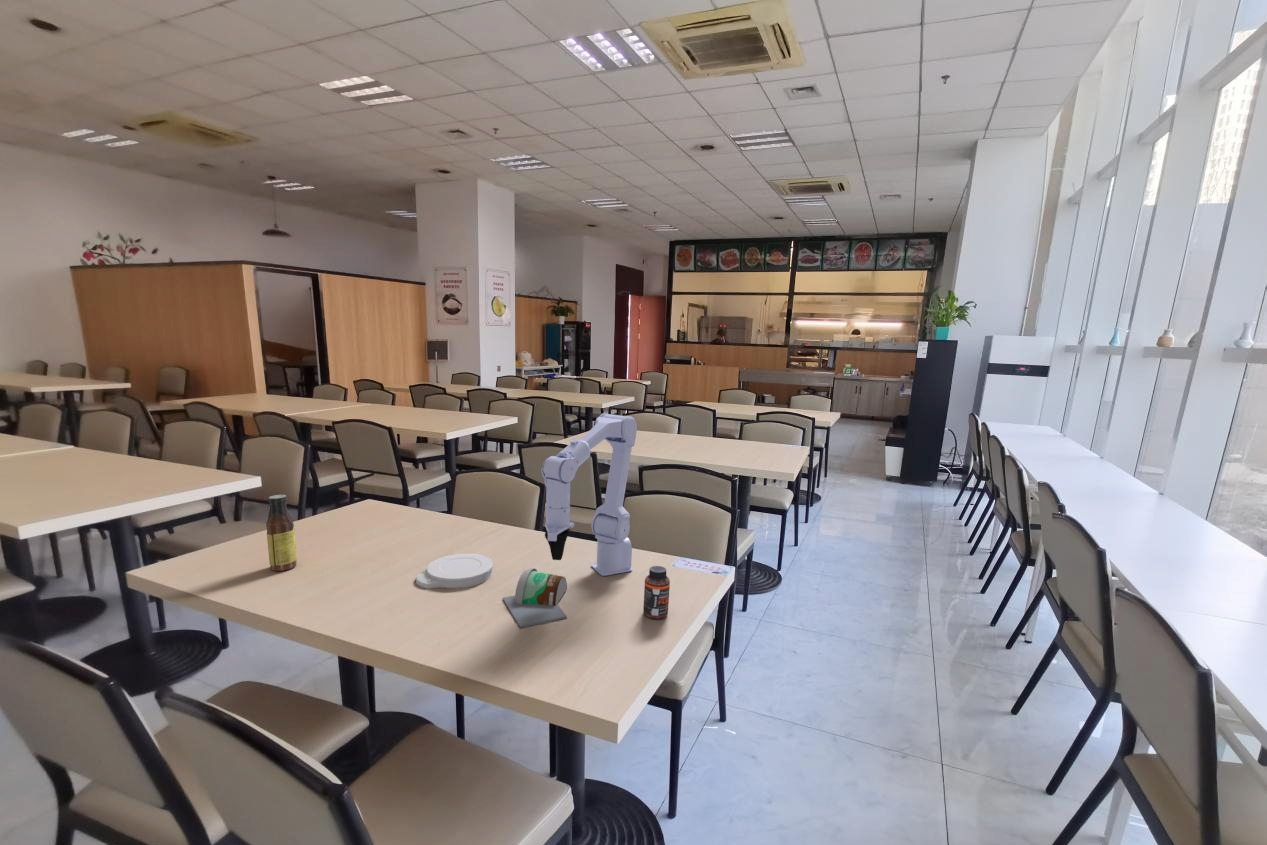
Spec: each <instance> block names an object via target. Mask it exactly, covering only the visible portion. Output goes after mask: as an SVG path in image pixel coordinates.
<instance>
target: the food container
mask: <svg viewBox="0 0 1267 845" xmlns="http://www.w3.org/2000/svg"><path fill="white" fill-rule="evenodd" d="M518 578H519V579H518V581H517V584H516V588H515V592H514V595H515V603H517V604H521V605H522V603H525V604H539V605H554V606H556V604H558V602H559V601H560V600H561V599H562V598H563V596H564V594H565V593H566V592H567V589H568V585H567V584H568V583H567V578H566V577H565V576H562V575H558V574H552V573H547V572H542V571H541V572H540V571H539V570H537V568H534V567H533V568H527V569H525V570H523V571H522V573H521V575H520V576H519V577H518Z"/></svg>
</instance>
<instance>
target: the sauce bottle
mask: <svg viewBox="0 0 1267 845" xmlns="http://www.w3.org/2000/svg"><path fill="white" fill-rule="evenodd" d="M287 500H288V498H287V495H286V494H275V495H271V496H269V497H268V500H267V501H268V503H269V509H270V511H269V513H270V514H269V517H268V519H267V521H266V539H267V540H266V541H267V548H268V559H269V561H268V562H269V566H270V569H271V571H275V572H283V571H288V570H291V569H293V568H295V567H296V566H297V562H298V561H297V560H298V559H297V558H298V556H297V546H296V545H297V544H296V536H295V525H294V522H293V520H292V517H291V516H290V513H289V511H288V508H287Z"/></svg>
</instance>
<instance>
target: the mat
mask: <svg viewBox="0 0 1267 845" xmlns="http://www.w3.org/2000/svg"><path fill="white" fill-rule="evenodd" d="M502 601H503V603H504V604H505V606H506V607H507V608H508V610H509V612H510V614H511V615H512V617H513V618H514V620H515V622H516V623H517V625H518V627H519V629H522V628H527V627H531V626H536V625H542V624H546V623H550V622H555V621H560V620H565V618H566V619H567V618H568V616H567V614H566V613H565V612H564V611H563V609H562V608H561V607H560V605H558V603H557V604H556V606H554V605H539V604H525V603H522V605H521V604H517V603H515V594H514V595H509V596H504V597H502Z"/></svg>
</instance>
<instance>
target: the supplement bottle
mask: <svg viewBox="0 0 1267 845" xmlns="http://www.w3.org/2000/svg"><path fill="white" fill-rule="evenodd" d="M648 572H649V573H648V575H647V576H646V577H645V579H644V592H643V593H644V595H643V606H642V607H643V610H642V611H643V614H644V616H646V617H647V618H650V619H652V620H660V619H661V618H662V619H664V618H666V617H667V616H668V614H669V605H670V604H669V602H670V586H671V585H670V583H671V581H670V577H668V576H667V568H666V567H664V566H660V565H653V566H650V567H649V571H648Z"/></svg>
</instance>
